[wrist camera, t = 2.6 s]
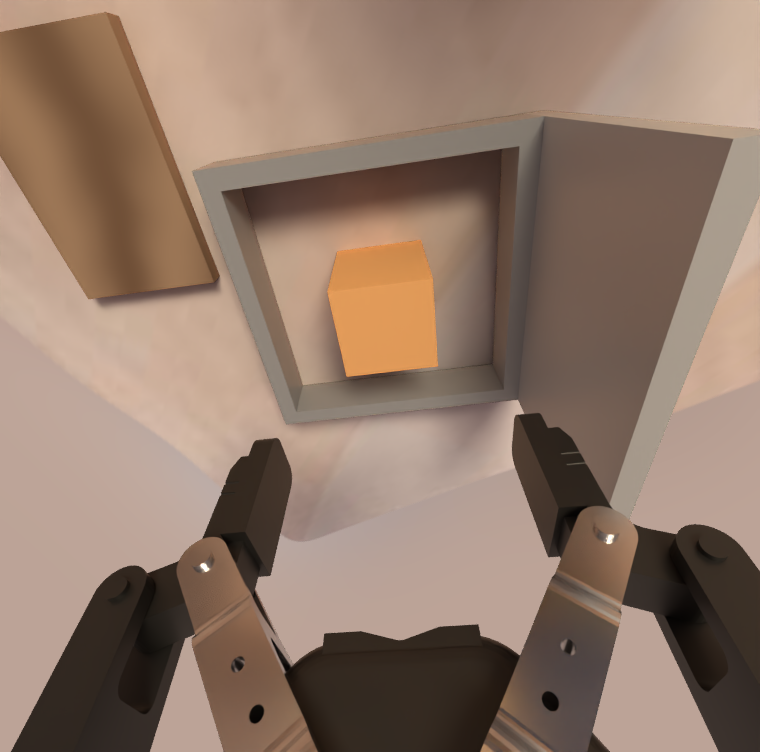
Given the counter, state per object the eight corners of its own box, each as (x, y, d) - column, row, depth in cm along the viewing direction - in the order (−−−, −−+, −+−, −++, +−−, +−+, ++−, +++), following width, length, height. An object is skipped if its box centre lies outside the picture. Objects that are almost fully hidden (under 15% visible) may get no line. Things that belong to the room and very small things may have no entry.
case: (293, 397, 30) (242, 583, 18) (213, 162, 20) (11, 245, 9) (519, 372, 29) (614, 554, 17) (544, 110, 19) (785, 130, 8)
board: (97, 292, 25) (88, 299, 24) (-48, 47, 18) (-69, 45, 17) (219, 276, 24) (214, 282, 23) (118, 15, 17) (105, 12, 16)
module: (351, 324, 26) (346, 376, 21) (337, 251, 23) (327, 292, 18) (426, 315, 26) (437, 366, 21) (420, 239, 23) (432, 278, 18)
